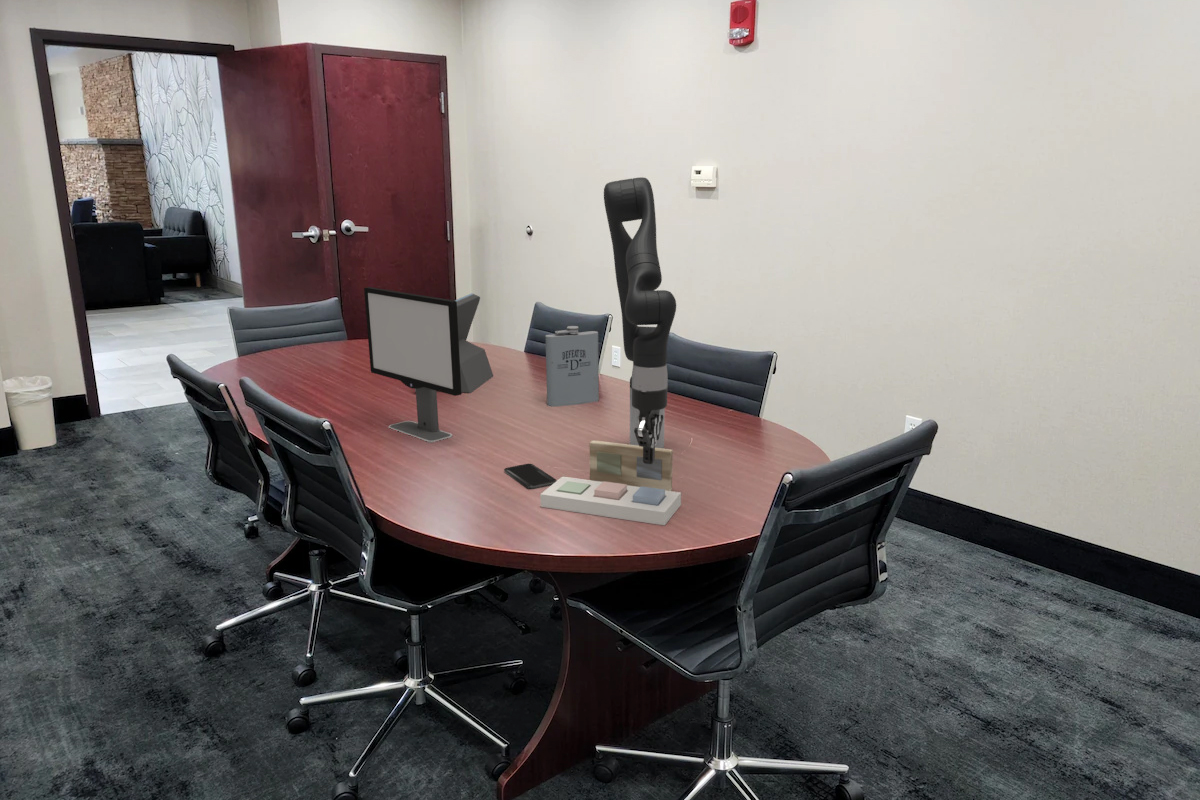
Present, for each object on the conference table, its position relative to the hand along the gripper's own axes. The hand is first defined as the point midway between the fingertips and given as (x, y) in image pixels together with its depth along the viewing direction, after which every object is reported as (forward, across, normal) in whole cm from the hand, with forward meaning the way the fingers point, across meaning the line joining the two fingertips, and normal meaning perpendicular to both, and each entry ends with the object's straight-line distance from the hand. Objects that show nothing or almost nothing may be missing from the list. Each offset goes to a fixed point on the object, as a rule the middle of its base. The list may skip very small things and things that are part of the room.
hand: (648, 462), depth 183 cm
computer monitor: (+11, -32, -80) cm, 87 cm away
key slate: (+10, 0, 0) cm, 10 cm away
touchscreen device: (+11, -86, -100) cm, 132 cm away
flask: (+11, -76, -51) cm, 92 cm away
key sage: (+11, 0, -18) cm, 21 cm away
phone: (+12, -10, -34) cm, 37 cm away
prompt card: (+11, -13, -9) cm, 20 cm away
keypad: (+11, 0, -9) cm, 14 cm away
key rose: (+10, 0, -9) cm, 13 cm away
